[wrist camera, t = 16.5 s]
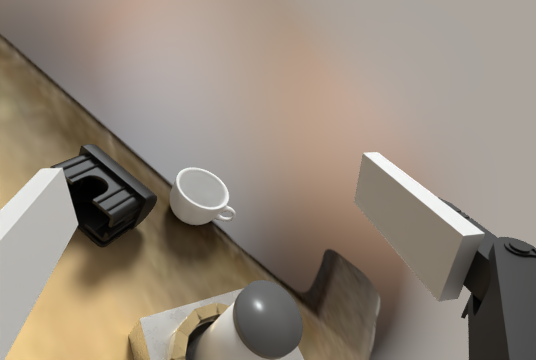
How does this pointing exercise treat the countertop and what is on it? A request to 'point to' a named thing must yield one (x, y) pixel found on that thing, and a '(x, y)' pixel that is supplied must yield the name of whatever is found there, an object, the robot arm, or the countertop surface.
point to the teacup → (199, 197)
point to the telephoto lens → (253, 327)
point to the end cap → (105, 195)
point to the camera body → (181, 330)
